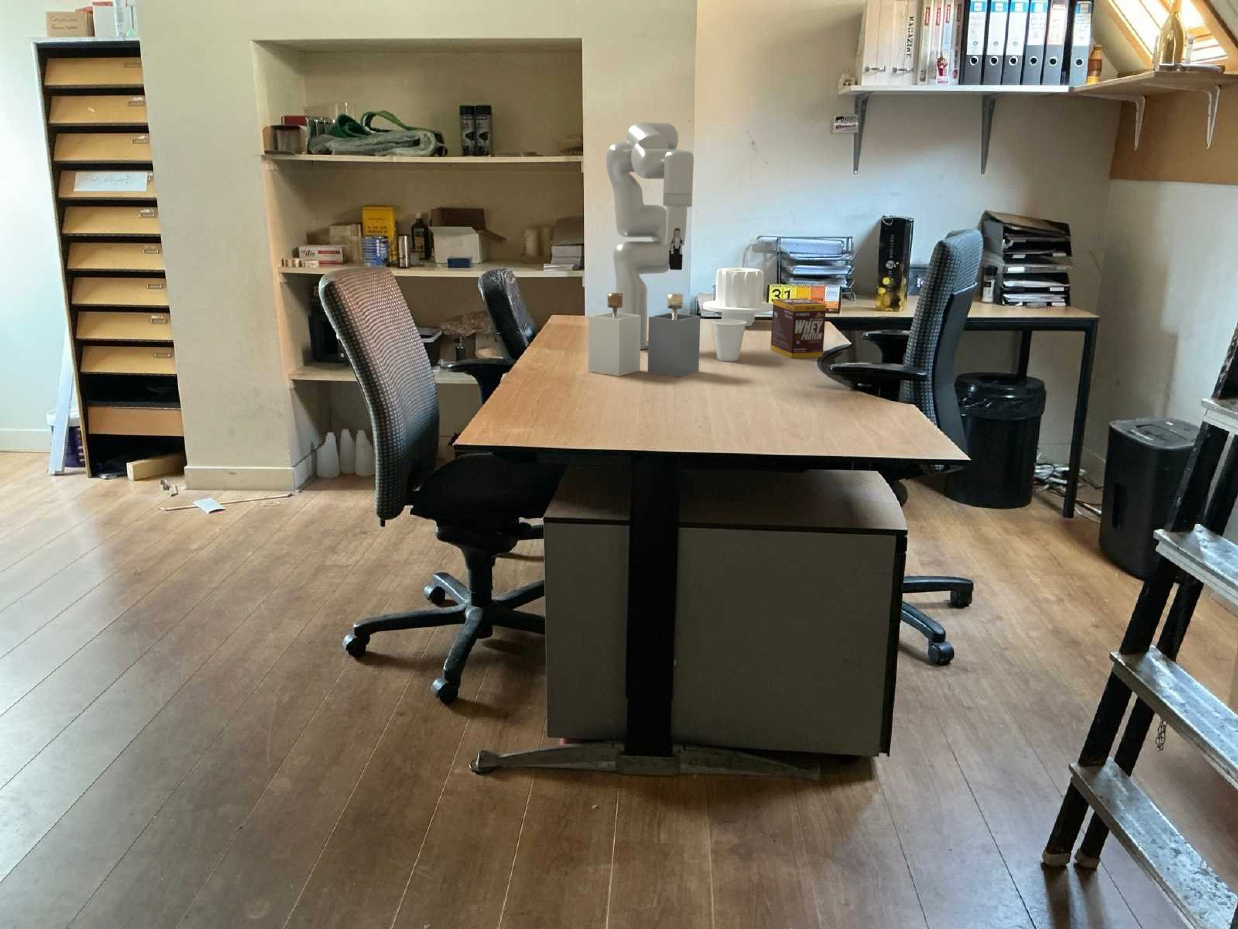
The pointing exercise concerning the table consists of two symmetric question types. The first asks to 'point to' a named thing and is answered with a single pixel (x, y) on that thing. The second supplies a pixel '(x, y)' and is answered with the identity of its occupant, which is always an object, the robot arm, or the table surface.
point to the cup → (728, 338)
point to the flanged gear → (739, 294)
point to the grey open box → (673, 344)
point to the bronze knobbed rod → (615, 302)
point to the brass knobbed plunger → (675, 303)
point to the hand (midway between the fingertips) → (675, 267)
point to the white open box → (614, 343)
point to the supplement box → (798, 327)
